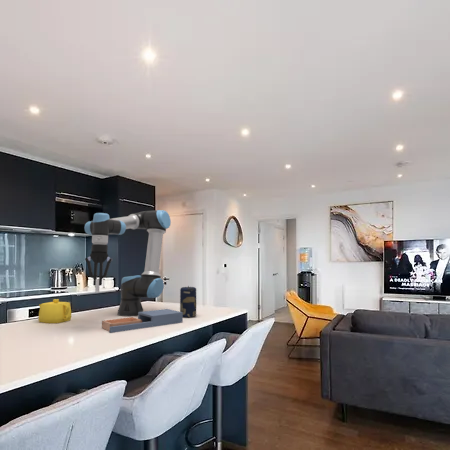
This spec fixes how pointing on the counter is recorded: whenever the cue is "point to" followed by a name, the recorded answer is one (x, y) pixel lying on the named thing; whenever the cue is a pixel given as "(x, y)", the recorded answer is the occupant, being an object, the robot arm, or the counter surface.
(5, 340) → the counter surface
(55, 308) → the teapot
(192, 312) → the canister
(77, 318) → the counter surface
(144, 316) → the blue-grey box with strip
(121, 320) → the dish
